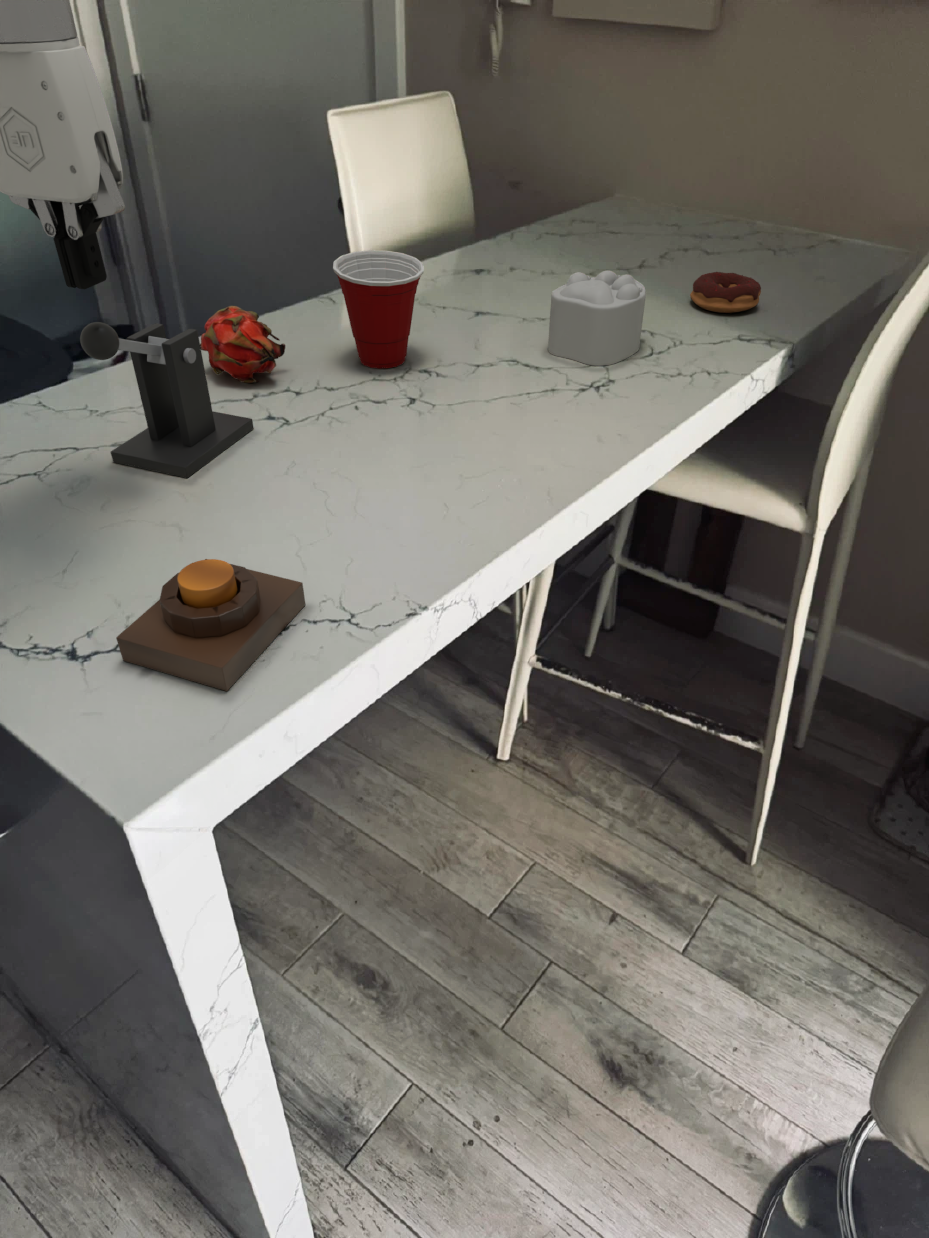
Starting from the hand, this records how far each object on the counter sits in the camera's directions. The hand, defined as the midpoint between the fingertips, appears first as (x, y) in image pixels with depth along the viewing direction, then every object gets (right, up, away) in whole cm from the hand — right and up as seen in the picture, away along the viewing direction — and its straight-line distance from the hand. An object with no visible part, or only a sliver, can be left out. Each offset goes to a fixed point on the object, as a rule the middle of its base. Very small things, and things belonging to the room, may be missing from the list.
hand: (87, 283), depth 74 cm
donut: (+70, +17, +53) cm, 90 cm away
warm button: (+13, -27, -10) cm, 31 cm away
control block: (+13, -30, -8) cm, 33 cm away
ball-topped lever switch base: (+3, -10, +17) cm, 20 cm away
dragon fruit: (+5, +1, +32) cm, 33 cm away
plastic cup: (+22, +4, +36) cm, 42 cm away
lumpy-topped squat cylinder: (+50, +7, +40) cm, 64 cm away
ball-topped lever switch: (+1, -5, +7) cm, 9 cm away
